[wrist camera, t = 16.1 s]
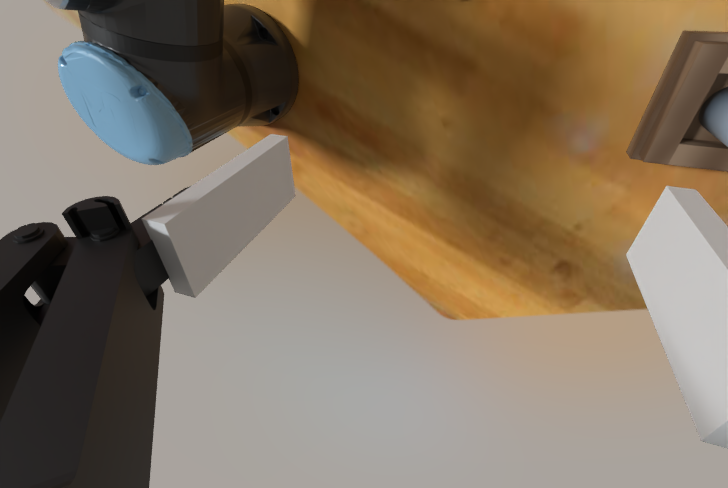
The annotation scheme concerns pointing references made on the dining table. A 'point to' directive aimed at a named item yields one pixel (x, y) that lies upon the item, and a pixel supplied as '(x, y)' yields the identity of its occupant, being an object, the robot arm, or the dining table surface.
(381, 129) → the dining table surface
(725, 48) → the cradle
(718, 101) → the cylinder
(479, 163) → the dining table surface
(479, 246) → the dining table surface
